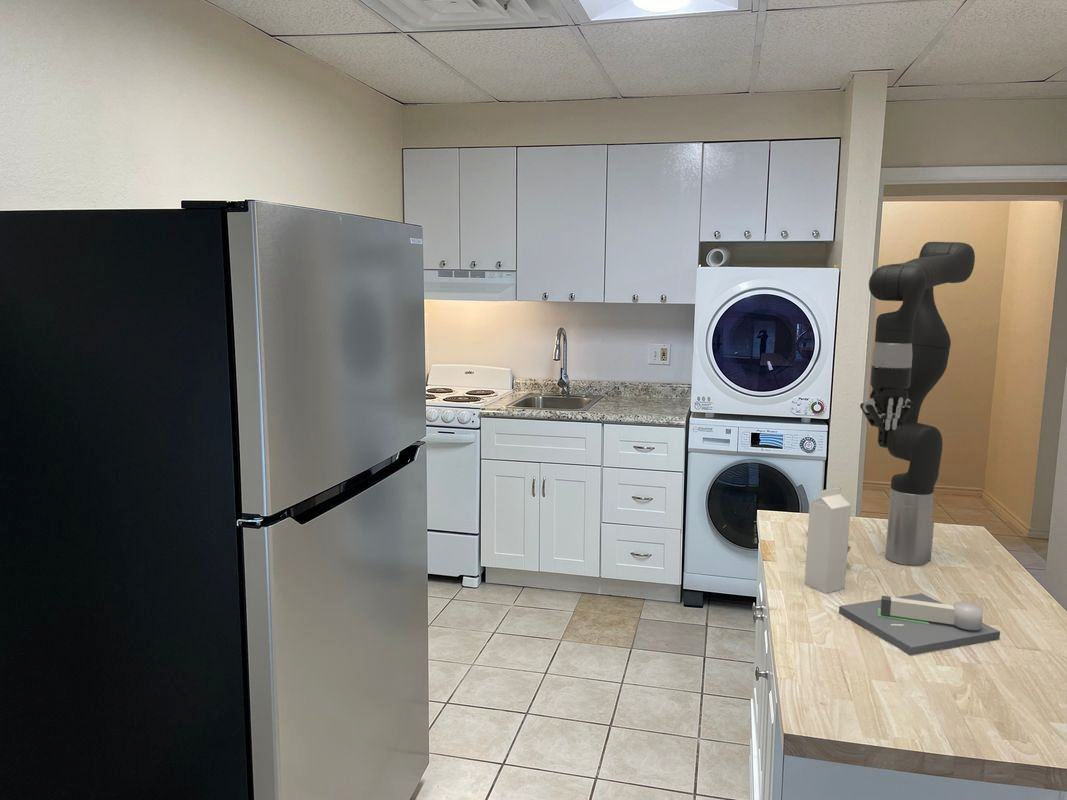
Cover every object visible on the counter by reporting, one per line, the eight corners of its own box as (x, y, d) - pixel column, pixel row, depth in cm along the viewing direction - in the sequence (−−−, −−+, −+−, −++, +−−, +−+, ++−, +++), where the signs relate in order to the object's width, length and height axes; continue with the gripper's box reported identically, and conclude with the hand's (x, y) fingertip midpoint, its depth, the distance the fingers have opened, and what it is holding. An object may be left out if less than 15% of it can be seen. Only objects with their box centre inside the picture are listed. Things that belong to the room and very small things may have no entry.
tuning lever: (979, 621, 154) (981, 603, 153) (983, 632, 149) (985, 614, 149) (880, 607, 160) (881, 590, 159) (881, 617, 155) (882, 599, 155)
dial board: (921, 600, 169) (921, 592, 168) (999, 638, 151) (1000, 630, 151) (838, 613, 162) (839, 605, 162) (910, 655, 144) (911, 646, 144)
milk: (844, 588, 174) (853, 490, 171) (825, 594, 172) (833, 494, 168) (822, 579, 180) (829, 484, 176) (803, 584, 177) (810, 487, 173)
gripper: (903, 361, 170) (897, 441, 173) (852, 363, 166) (846, 445, 169) (931, 365, 163) (924, 448, 166) (878, 367, 159) (872, 452, 162)
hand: (885, 446), depth 168 cm, fingers closed
